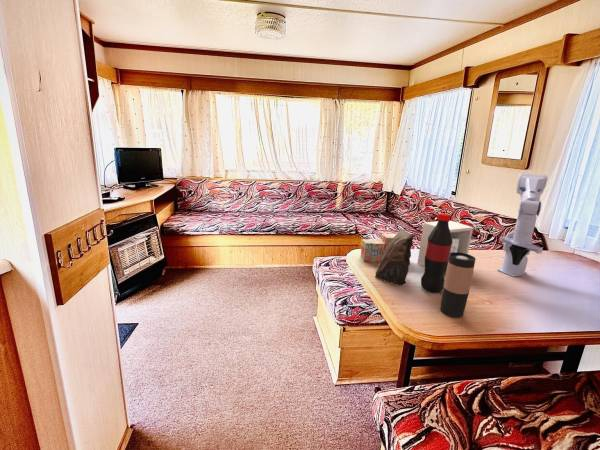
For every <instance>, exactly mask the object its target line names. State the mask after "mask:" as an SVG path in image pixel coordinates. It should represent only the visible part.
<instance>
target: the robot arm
mask: <svg viewBox="0 0 600 450" xmlns="http://www.w3.org/2000/svg"><path fill="white" fill-rule="evenodd" d="M547 181H548V176H547V175H546V174H544V175H543V174H532V173H520V174H519V175H518V180H517V184H516V193H517V194H518V195H520V202H519V206H518V208H517V209H518V210H517V218H516V223H515V226H514V230H513V231H511V232H508V233H507V234H506V235H505V236H501V237H500V242H501V243H503V247H502V250H503V252H504V256H503V257H504V258H503V262H502V265H501V267H500V268H496V270H497V271H498V272H501V273H504V274H506V275H508V276H511V277H513V278H514V277H519V276H525V275H527V274H528V273H527V272H526V269H527V264H528V261H529V259H528V256H529V255H530V253H531V252H534V253H536V254H538V255H539V254H542V252H543V247H541V246H538V245H535V244H533V243H532V241H533V239H532V238H533V233H534V230H535V226H536V222H537V217H540V216H539V215H540V214H541V211H542V201H541V200H540V199H541V196H542V194H543V193H544V191H545V189H546V186H547Z"/></svg>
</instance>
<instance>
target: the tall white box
mask: <svg viewBox="0 0 600 450" xmlns="http://www.w3.org/2000/svg"><path fill="white" fill-rule="evenodd" d="M437 223H438V220H437V221H436V220H435V221H428V222H423V226H422V230H421V231H422V232H421V238H420V245H419V251H418V258H417V264H418V265H420V266H422V267H424V268H425V255H426V249H427V243H428V237H429V235H430V233H431V232H432V230H433V229H434V228H435V226H436V225H437ZM448 224H449V229H450V232H451V235H454V236H458V237H459V246H458V251H457V252H459V253H465V254H469V251H470V245H471V241H472V236H473V231H474V227H472V226H470V225H468V224H463V223H460V222H457V221H454V220H453V221H452V220H450V222H448Z"/></svg>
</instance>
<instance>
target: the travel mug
mask: <svg viewBox="0 0 600 450" xmlns="http://www.w3.org/2000/svg"><path fill="white" fill-rule="evenodd" d="M475 264H476V257H475V256H473V255H471V254H469V253H468V254H465V253H459V252H453V253H450V255H449V260H448V266H447V271H446V272H445V275H444V279H445V281H444V286H443V290H442V293H441V300H440V307H439V311H440V312H441V313H442V315H445V316H446V317H450V318H454V319H458V318H462V317H464V314H465V309H466V306H467V302H468V298H469V294H470V291H471V283H472V280H473V279H472V278H473V275H474V269H475Z"/></svg>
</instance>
